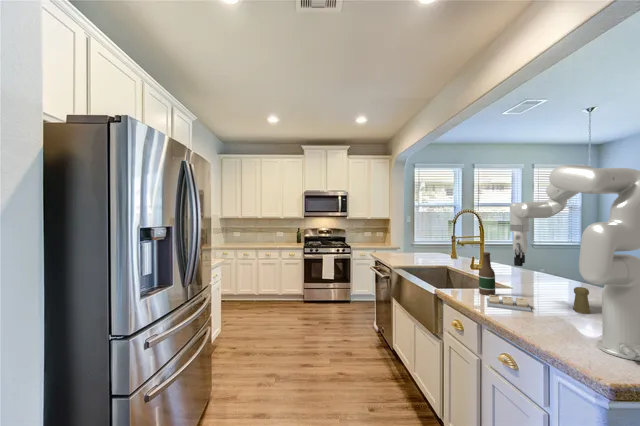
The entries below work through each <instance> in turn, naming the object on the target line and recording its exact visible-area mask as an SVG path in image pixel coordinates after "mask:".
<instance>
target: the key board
mask: <svg viewBox="0 0 640 426" xmlns="http://www.w3.org/2000/svg"><path fill="white" fill-rule="evenodd" d="M486 306H487V308H493V309H502V310H510V311H518V312H525V313H526V312H527V313H532V312H533V311H532V309H531V307H530V305H529V303H528V302H527V307H518V306H516V300H513V306H510V305H503V304H502V299H500V298H499V304H493V303H489V297H486Z"/></svg>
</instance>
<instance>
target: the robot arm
mask: <svg viewBox="0 0 640 426" xmlns="http://www.w3.org/2000/svg"><path fill="white" fill-rule="evenodd" d="M548 180H549V183H550V184H549V185H547V186H546V189H545V192H546V194H547V196H548V198H549V199H547V200H544V201H523V202H512V203H510V205H509V231H510V232H512V249H513V253H514V256H513V262H514V263H513V265H514V266H515V267H523V266H524V265H523V264H525V263H526V255H525V254H526V253H528V235H527V234H528V233H529V232H530V219H548V218H551V217H554V216H555V215H557V214H560V213H561V212H562V211H564V210H565V208H566V206H567V204H568V200H570V199H571V198H573V197H575V196H576V195H578V194H579V193H581V194H585V195H586V194H588V195H590V194H591V195H610V194H614V195H615V194H616V195H618V196H617V197H616V198H615V199H614V200H613V201H612V203H611V206H610V210H609V215H608V220H607V221H599V222H593V223H590V225H588V226H587V227H586V228H585V229H584V230H583V232H582V234H581V239H580V247H579V248H580V250H579V258H578V271H579V274H580V276H581V277H582V279H584V280H585V281H586V282H587V283H589V284H592V285H598V286H603V290H602V294H601V318H602V320H601V321H602V339H600V340H597V341H596V342H595V343H596V347H597V348H598V349H599V350H600V351H603V352H604V353H606V354H609V355H612V356H615V357H619V358H622V359H626V360H631V361H637V362H638V361H639V362H640V257H638V256H635V255H631V254H624V253H623V254H622V253H620V254H619V253H616V254H615V252H631V251H632V252H633V251H638V250H640V170H638V169H635V168H634V169H633V168H627V167H609V168H608V167H599V168H598V167H593V166H591V165H587V164H586V165H585V164H561V165H558V166H556V167H555V168H553V169H552V171H551V172H550V174H549V177H548Z"/></svg>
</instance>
